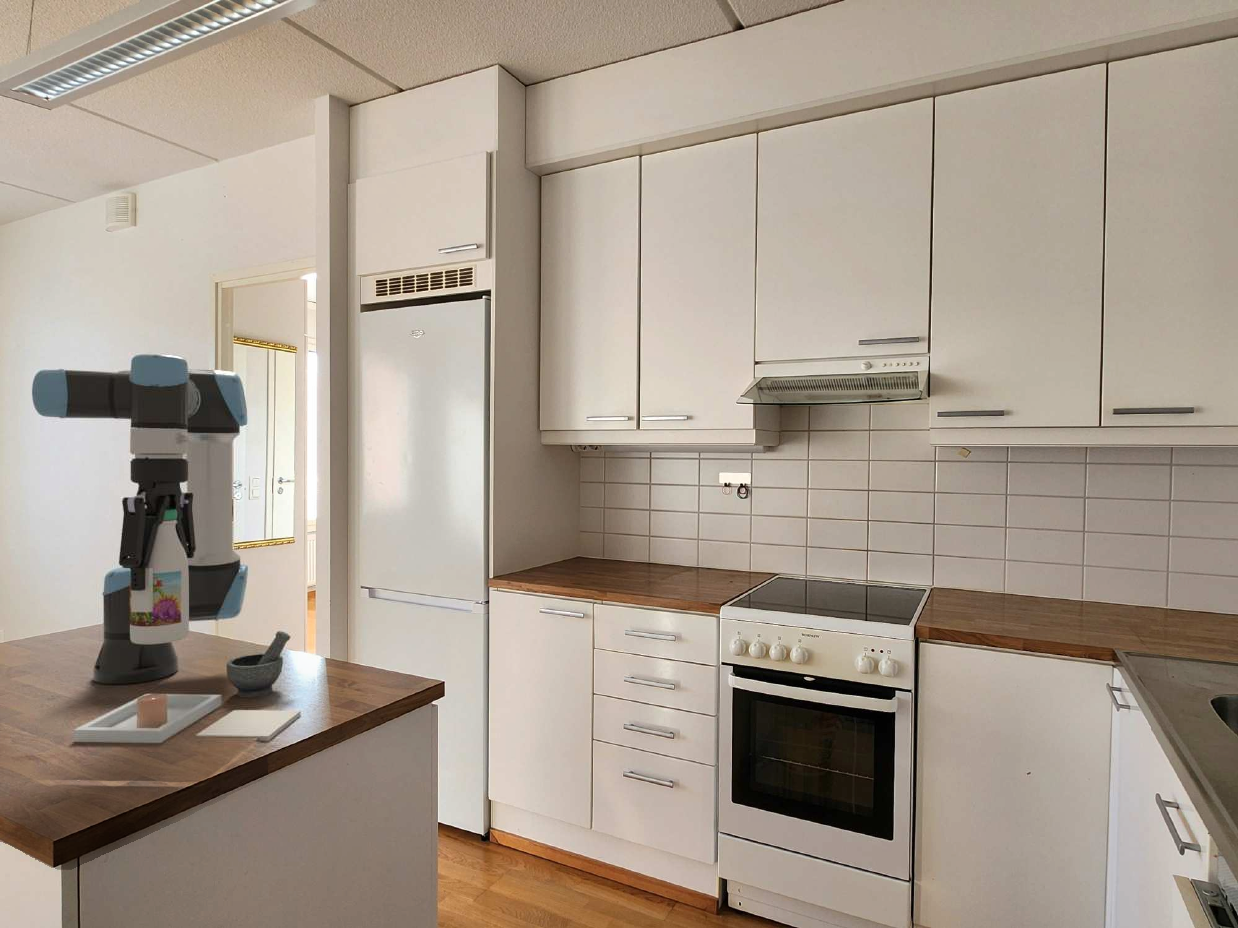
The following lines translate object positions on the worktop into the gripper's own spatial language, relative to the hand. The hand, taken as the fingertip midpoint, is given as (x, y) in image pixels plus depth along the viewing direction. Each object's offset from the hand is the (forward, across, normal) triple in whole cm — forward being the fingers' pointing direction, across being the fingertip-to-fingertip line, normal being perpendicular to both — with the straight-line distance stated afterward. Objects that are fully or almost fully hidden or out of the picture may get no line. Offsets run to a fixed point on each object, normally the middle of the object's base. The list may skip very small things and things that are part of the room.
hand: (159, 605), depth 115 cm
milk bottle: (+5, 0, 0) cm, 5 cm away
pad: (+24, +14, -7) cm, 28 cm away
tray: (+24, +14, +10) cm, 29 cm away
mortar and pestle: (+24, +31, 0) cm, 39 cm away
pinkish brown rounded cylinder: (+23, +11, +8) cm, 27 cm away
